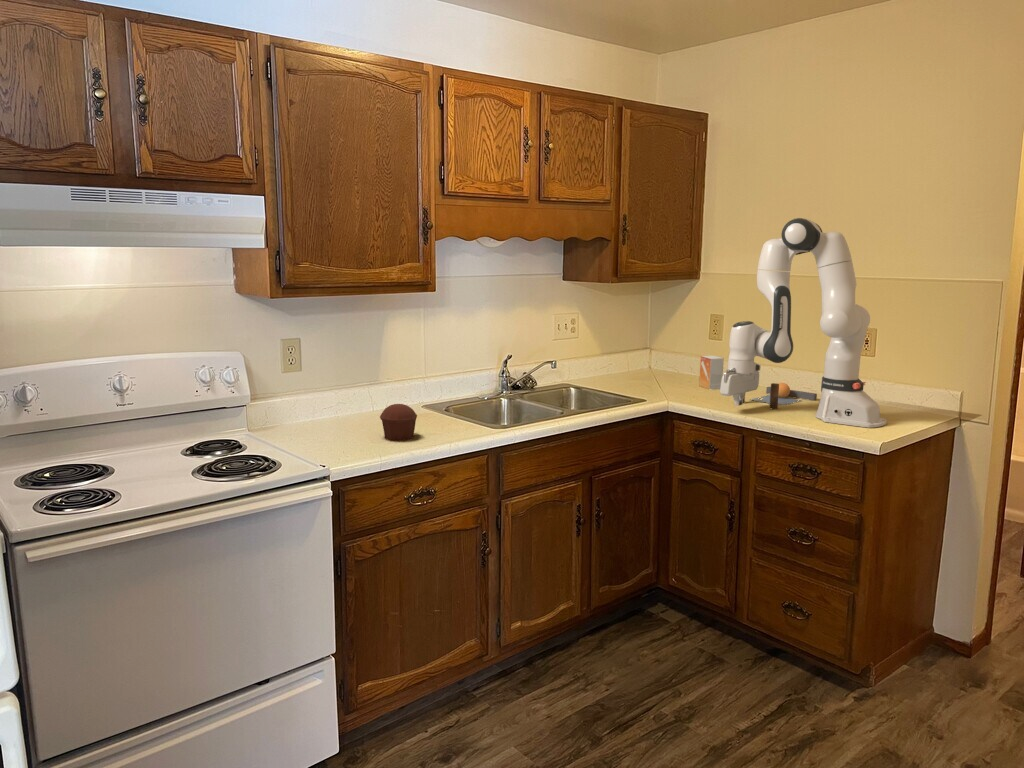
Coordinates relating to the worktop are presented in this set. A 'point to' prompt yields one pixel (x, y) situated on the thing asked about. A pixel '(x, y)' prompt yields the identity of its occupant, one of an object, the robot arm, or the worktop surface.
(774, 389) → the post
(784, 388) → the ball
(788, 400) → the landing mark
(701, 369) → the small box
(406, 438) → the muffin
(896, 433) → the worktop surface
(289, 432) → the worktop surface
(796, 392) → the wall
